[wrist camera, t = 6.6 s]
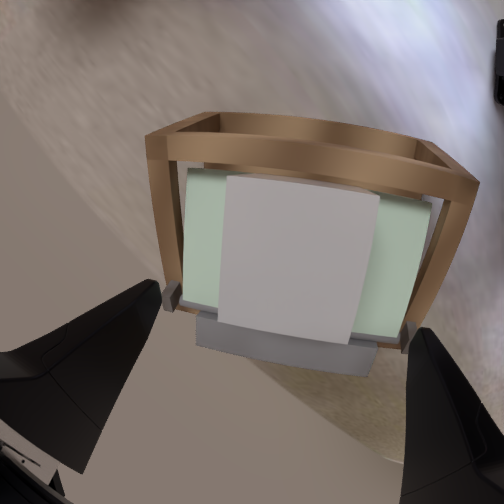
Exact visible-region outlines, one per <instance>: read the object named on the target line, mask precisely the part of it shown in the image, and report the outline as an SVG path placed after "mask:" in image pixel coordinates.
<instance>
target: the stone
mask: <svg viewBox="0 0 504 504" xmlns="http://www.w3.org/2000/svg"><path fill="white" fill-rule="evenodd" d="M379 200H380V196H379V195H376V194H374V193H372V192H370V191H368V190H365V189H363V188H361V187H358V186H352V185H346V184H340V183H333V182H327V181H320V180H313V179H305V178H298V177H290V176H281V175H272V174H263V173H255V174H240V175H228V176H227V181H226V194H225V206H224V220H223V234H222V249H221V265H220V282H219V301H218V322H222V323H227V324H231V325H236V326H241V327H246V328H251V329H256V330H261V331H267V332H272V333H277V334H283V335H289V336H295V337H301V338H307V339H313V340H319V341H326V342H333V343H340V344H347V345H348V342H349V338H350V335H351V331H352V328H353V324H354V320H355V316H356V313H357V309H358V305H359V301H360V297H361V293H362V289H363V284H364V280H365V276H366V271H367V266H368V262H369V257H370V252H371V247H372V242H373V236H374V231H375V225H376V219H377V213H378V207H379Z"/></svg>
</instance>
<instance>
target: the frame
mask: <svg viewBox="0 0 504 504" xmlns="http://www.w3.org/2000/svg"><path fill="white" fill-rule="evenodd" d="M145 145H146V155H147V164H148V173H149V182H150V189H151V197H152V204H153V211H154V218H155V224H156V231H157V237H158V243H159V248H160V254H161V260H162V265H163V270H164V275H165V280H166V285H167V286H166V288H165V289H164V291H163V292H162V294H161V295H162V304H163V308H164V310H165V311H169V312H174V310H175V309H177V310H181V311H185V312H189V313H193V314H198V313H199V312H200V311H201V310H196V309H192V308H188V307H184V306H180V304H179V300H180V296H181V295H182V294H183V251H184V235H183V226H182V216H181V206H180V196H179V184H178V172H177V161H193V162H204V169H216V170H227V171H238V172H248V173H263V174H272V175H281V176H290V177H298V178H305V179H313V180H320V181H327V182H333V183H340V184H346V185H352V186H358V187H361V188H363V189H368V190H373V191H378V192H383V193H388V194H393V195H398V196H403V197H408V198H412V199H417V200H421V198H422V194H425V195H429V196H434V197H438V198H442V199H444V202H443V205H442V209H441V212H440V215H439V218H438V221H437V224H436V227H435V230H434V233H433V236H432V239H431V242H430V245H429V247H428V250H427V253H426V255H425V258H424V260H423V263H422V266H421V268H420V271H419V273H418V275H417V278H416V280H415V283H414V286H413V290H412V293H411V297H410V300H409V303H408V306H407V309H406V313H405V316H404V319H403V322H402V325H401V327H400V330H399V332H400V341H399V343H398V344H391V343H382V342H377V346H378V347H383V348H392V349H401V354H408V349H409V344H410V342H411V340H412V338H413V337H414V335H415V333H416V331H417V330H418V328H419V327H420V325H421V323H422V321H423V320H424V318H425V316H426V314H427V312H428V310H429V308H430V306H431V305H432V303H433V301H434V299H435V297H436V295H437V293H438V291H439V288H440V286H441V284H442V282H443V280H444V278H445V276H446V274H447V271H448V269H449V267H450V265H451V262H452V260H453V258H454V255H455V253H456V250H457V248H458V245H459V243H460V240H461V238H462V235H463V232H464V230H465V227H466V224H467V222H468V219H469V216H470V213H471V210H472V207H473V204H474V201H475V197H476V194H477V191H478V188H479V184H480V182H479V181H478V180H477V179H476V178H475V177H474V176H473V175H471V174H470V173H469V172H468V171H467V170H466V169H465V168H463V167H462V166H461V165H460V164H459V163H458V162H456V161H455V160H454V159H453V158H451V157H450V156H449V155H448V154H447V153H445V152H444V151H443V150H441V149H440V148H439V147H438V146H436V145H435V144H434V143H432V142H429V141H425V140H422V139H418V138H414V137H410V136H406V135H401V134H397V133H393V132H388V131H383V130H379V129H374V128H368V127H363V126H358V125H352V124H346V123H340V122H333V121H326V120H319V119H311V118H302V117H293V116H282V115H270V114H255V113H234V112H203V113H201V114H198V115H195V116H192V117H190V118H187V119H184V120H182V121H179V122H177V123H174V124H172V125H169V126H167V127H164V128H162V129H159V130H157V131H155V132H152V133H150V134H148V135H146V136H145Z"/></svg>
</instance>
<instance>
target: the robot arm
mask: <svg viewBox="0 0 504 504" xmlns="http://www.w3.org/2000/svg"><path fill="white" fill-rule="evenodd" d="M503 24H504V19H501V20H499V21H498V39H497V40H496V67H495V71H496V83H495V93H494V97H495V100H496V102H497V103H499V104H501V105H503V106H504V26H503ZM500 95H502V100H500ZM161 304H162V295H161V291H160V287H159V283H158V282H157V281H156V280H151V279H146V280H144V281H142V282H140V283H138V284H136V285H135V286H133V287H131V288H129V289H127V290H125V291H124V292H122V293H120V294H118V295H116V296H115V297H113V298H111V299H109V300H107V301H105V302H104V303H102V304H100V305H98V306H97V307H95V308H93V309H91V310H89V311H88V312H86V313H84V314H82V315H80V316H79V317H77V318H75V319H73V320H72V321H70V322H69V323H66V324H65V325H63V326H61V327H59V328H58V329H55V330H54V331H52V332H50V333H48V334H46V335H44V336H42V337H40V338H38V339H36V340H34V341H31V342H29V343H27V344H25V345H23V346H21V347H19V348H17V349H14V350H12V351H8V352H0V504H73V503H72V502H70V501H69V500H67V499H66V498H64V496H65V493H64V490H63V487H62V484H61V481H60V477H59V473H58V470H57V468H58V466H59V464H60V462H61V463H62V464H64V465H66V466H67V467H69V468H71V469H73V470H74V471H76V472H78V473H80V474H83V472H84V470H85V468H86V466H87V463H88V461H89V459H90V457H91V454H92V452H93V450H94V448H95V445H96V443H97V441H98V439H99V437H100V435H101V432H102V430H103V428H104V426H105V423H106V421H107V419H108V417H109V415H110V413H111V410H112V409H113V406H114V404H115V402H116V400H117V398H118V396H119V394H120V392H121V389H122V388H123V386H124V383H125V382H126V380H127V378H128V376H129V374H130V372H131V370H132V368H133V366H134V364H135V362H136V360H137V358H138V356H139V354H140V352H141V351H142V349H143V347H144V345H145V343H146V341H147V339H148V336H149V334H150V331H151V329H152V327H153V324H154V321H155V319H156V316H157V314H158V311H159V309H160V306H161ZM399 504H504V435H503V434H502V432H501V431H500V430H499V428H498V427H497V425H496V424H495V422H494V421H493V419H492V418H491V416H490V414H489V413H488V411H487V410H486V408H485V407H484V405H483V403H481V400H480V399H479V397H478V395H477V394H476V392H475V391H474V389H473V388H472V386H471V385H470V383H469V382H468V380H467V379H466V377H465V376H464V374H463V373H462V371H461V370H460V368H459V367H458V365H457V364H456V363H455V361H454V360H453V358H452V357H451V355H450V354H449V353H448V351H447V350H446V348H445V347H444V346H443V344H442V343H441V342H440V340H439V339H438V337H437V336H436V335H435V333H434V332H433V331H432V330H431V329H430V328H425V327H420V328H418V330H417V331H416V333H415V335H414V337H413V338H412V340H411V342H410V344H409V349H408V367H407V381H406V437H405V456H404V469H403V479H402V488H401V497H400V502H399Z"/></svg>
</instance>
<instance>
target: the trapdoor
mask: <svg viewBox="0 0 504 504" xmlns="http://www.w3.org/2000/svg"><path fill="white" fill-rule="evenodd" d="M240 174H255V173H248V172H238V171H227V170H216V169H202V168H188V173H187V187H186V204H185V224H184V251H183V294H182V295H181V296H180V300H179V304H180V306H184V307H188V308H192V309H196V310H201V311H200V312H199V313H198V314H197V316H196V345H197V346H201V347H205V348H209V349H214V350H217V351H221V352H226V353H230V354H234V355H238V356H243V357H247V358H252V359H257V360H261V361H266V362H271V363H277V364H282V365H287V366H293V367H299V368H305V369H311V370H317V371H324V372H331V373H338V374H346V375H354V376H363V377H367V376H368V374H369V371H370V369H371V366H372V364H373V361H374V358H375V356H376V353H377V350H378V346H377V342H382V343H391V344H398V343H399V341H400V332H399V330H400V327H401V325H402V322H403V319H404V316H405V313H406V309H407V306H408V303H409V300H410V297H411V293H412V290H413V286H414V283H415V279H416V276H417V272H418V268H419V264H420V260H421V256H422V252H423V247H424V243H425V239H426V234H427V229H428V224H429V219H430V213H431V208H432V203H429V202H426V201H421V200H417V199H412V198H408V197H403V196H398V195H393V194H388V193H383V192H378V191H373V190H368V189H365V190H368V191H370V192H372V193H374V194H376V195H379V196H380V200H379V207H378V213H377V219H376V225H375V231H374V236H373V242H372V247H371V252H370V257H369V262H368V266H367V271H366V276H365V280H364V284H363V289H362V293H361V297H360V301H359V305H358V309H357V313H356V316H355V320H354V324H353V328H352V331H351V335H350V338H349V342H348V345H347V344H340V343H333V342H326V341H319V340H313V339H307V338H301V337H295V336H289V335H283V334H277V333H272V332H267V331H261V330H256V329H251V328H246V327H241V326H236V325H231V324H227V323H222V322H218V301H219V282H220V265H221V249H222V234H223V220H224V206H225V194H226V181H227V176H228V175H240Z"/></svg>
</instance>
